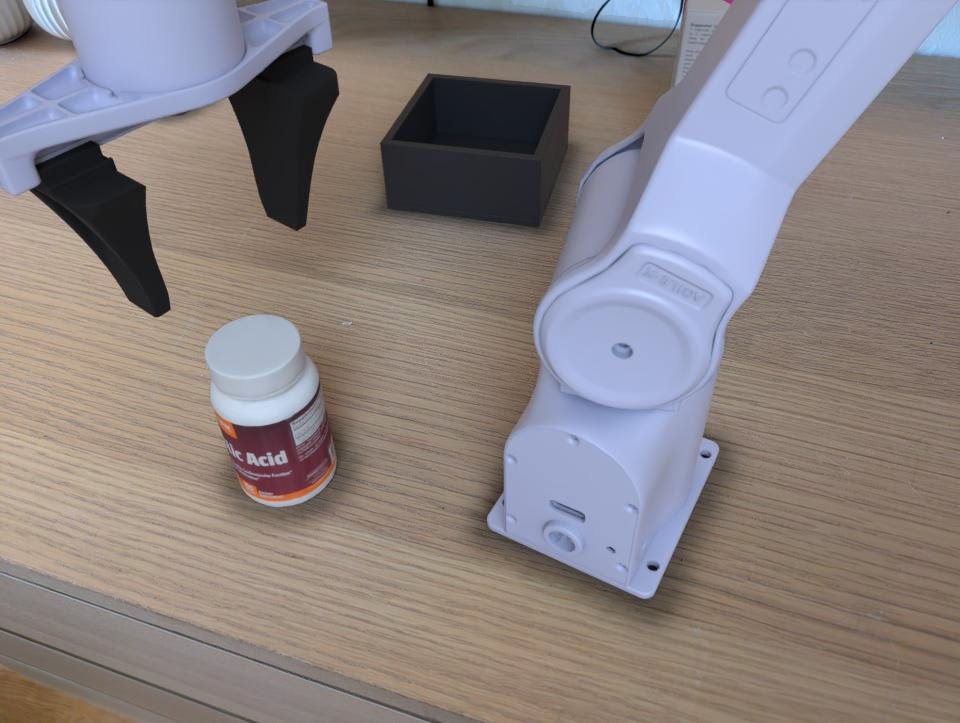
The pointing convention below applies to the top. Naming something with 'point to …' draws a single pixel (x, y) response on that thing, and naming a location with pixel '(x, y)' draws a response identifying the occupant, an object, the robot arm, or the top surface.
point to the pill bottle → (270, 409)
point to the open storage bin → (477, 148)
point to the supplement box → (696, 32)
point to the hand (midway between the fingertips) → (222, 260)
